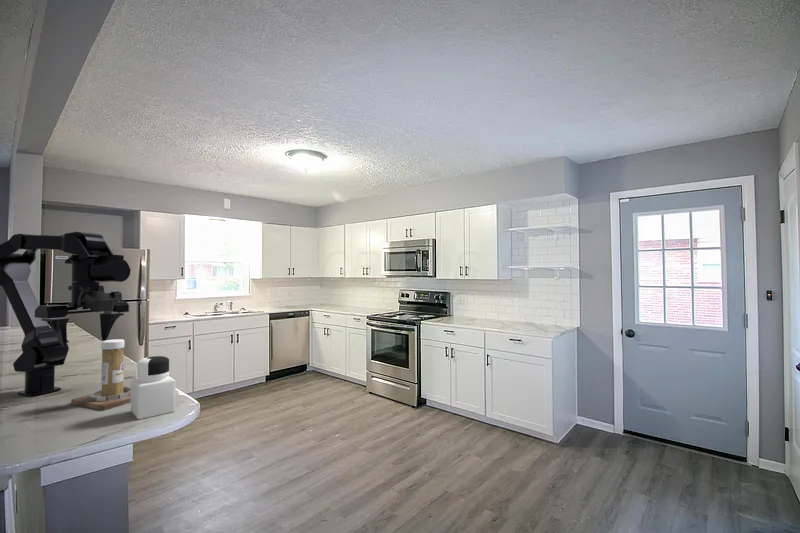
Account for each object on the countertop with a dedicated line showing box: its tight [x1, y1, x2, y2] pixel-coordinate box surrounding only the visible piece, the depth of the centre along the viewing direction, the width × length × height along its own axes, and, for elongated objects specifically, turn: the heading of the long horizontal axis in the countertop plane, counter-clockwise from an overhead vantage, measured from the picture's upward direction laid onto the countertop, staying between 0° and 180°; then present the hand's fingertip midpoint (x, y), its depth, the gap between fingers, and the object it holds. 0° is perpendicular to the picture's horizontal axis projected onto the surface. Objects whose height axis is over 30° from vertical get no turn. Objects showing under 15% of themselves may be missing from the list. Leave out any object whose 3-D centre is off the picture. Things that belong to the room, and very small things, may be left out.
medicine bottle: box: [130, 355, 176, 420], centre depth 88 cm, size 7×7×12 cm
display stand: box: [70, 385, 131, 411], centre depth 96 cm, size 12×11×2 cm
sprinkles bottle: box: [100, 338, 125, 396], centre depth 96 cm, size 5×5×14 cm
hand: (85, 343), depth 101 cm, fingers open, 9 cm apart
